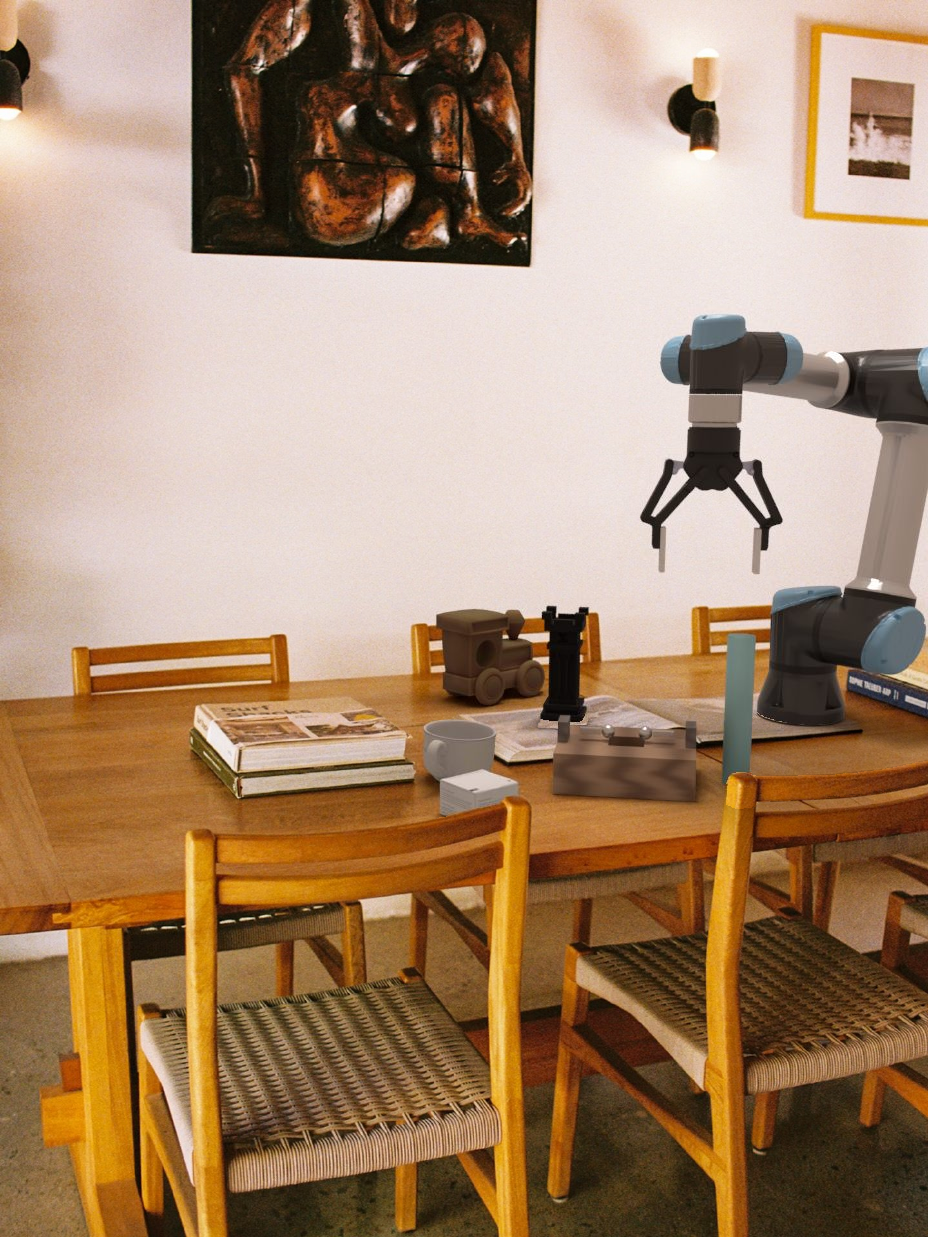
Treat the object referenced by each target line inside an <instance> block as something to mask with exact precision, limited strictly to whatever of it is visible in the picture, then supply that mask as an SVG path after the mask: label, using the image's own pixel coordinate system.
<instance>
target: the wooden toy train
mask: <svg viewBox="0 0 928 1237" xmlns="http://www.w3.org/2000/svg"><path fill="white" fill-rule="evenodd" d="M435 622H436V623H435V629H438V630H441V644H442V645H441V646H442V648H441V649H442V658H443V666H444V670H445V671H443V672H442V690H444V691H445V692H446V693H447V694H448V695H449V696H451V697H453V698H455V697H456V698H458V697H462V696H467V697H471V696H475V697H476V699H477V701H478V702H479V703H480V704H481V705H483V706H492V705H494V704H497V703H498V701H500V700H501V698H502V697H503V695H504V692H505V690H507V689H510V688H511V689H512V688H516V689H517V692H519V693H520V695H522V696H524V697H533V696H535V695H537V694H539V692H540V691H541V690H542V688H543V686H544V684H545V678H546V673H545V670H544V667H543V666H542V664H541V663H540V662H539V661H537V660H535V659H534V648H533V641H530V640H528V639H525V638H522V637H519V636H520V634H521V632H522V630H523V628H524V626H525V622H526V619H525V617H524V616H523V614H522V612H521V611H520V609H507V610H506V611H505V613H502V612H500V611H495V610H490V609H482V608H481V609H480V608H467V609H458V610H452V611H445V612H441V613H438V614H436V615H435ZM504 631H505V632H506V635H507V637H508V638H507V637H506V638H505V637H504Z"/></svg>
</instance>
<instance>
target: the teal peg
mask: <svg viewBox="0 0 928 1237" xmlns="http://www.w3.org/2000/svg"><path fill="white" fill-rule="evenodd" d="M756 638H757V636H756V635H755V634H751V633H743V632H742V633H740V632H737V633H736V632H734V633H729V634H727V639H726V640H727V641H726V643H727V644H726V661H725V663H726V666H725V668H726V670H725V687H724V688H725V691H724V693H725V694H724V695H725V696H724V711H723V713H724V716H723V717H724V719H723V741H722V765H721V766H722V767H721V783H722V784H723V785H725V786H727V785H726V782H727V780H728V777H729V776H730V775H731V774H732V773H736V772H747V773H750V774H751V758H752V757H751V756H752V734H753V733H752V732H753V710H754V690H755V689H754V688H755V687H754V686H755V666H756V665H755V664H756V663H755V662H756V646H757V644H756V641H757V639H756Z"/></svg>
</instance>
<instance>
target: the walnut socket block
mask: <svg viewBox="0 0 928 1237" xmlns="http://www.w3.org/2000/svg"><path fill="white" fill-rule="evenodd" d="M581 726H584V727H601V731H602V728H603V726H604V725H570V716H567V715H560V717H559V720H558V729H556V731H557V735H556V736H557V737H556V739H557V740H556V745H555V747H554V750H553V754H552V755H553V756H552V795H568V796H569V795H570V796H588V797H602V798H603V797H604V798H622V799H623V798H624V799H637V800H638V799H642V800H657V801H658V800H660V801H675V802H677V801H679V802H692V803H693V802H696V778H697V728H698V727H697V721H694V720H686V721H685V729H673V728H672V729H671V728H653V727H651V728H650V727H649V728H650V729H651V730H652V736H651V738H650V739H648V740H643V739H641V738H640V737H639V734H638V732H639V729H640V728H641V727H630V726H629V727H628V726H613V727H614V729H615V734H614V736H613V737H611V738H605V737H604V736H603V735H602V732H601V735H594V734H580V727H581ZM653 730H670V731H674V738H657V737H653Z"/></svg>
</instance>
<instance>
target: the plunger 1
mask: <svg viewBox="0 0 928 1237" xmlns="http://www.w3.org/2000/svg"><path fill="white" fill-rule="evenodd" d="M602 726H603V728H602V731H601V727H584V726H581V727H580V734H594V735H601V732H602V735H603V736H604V737H605V738H611V737H613V736H614V734H615V729H614V727H615V726H613V725H611V724H605V725H602Z"/></svg>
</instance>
